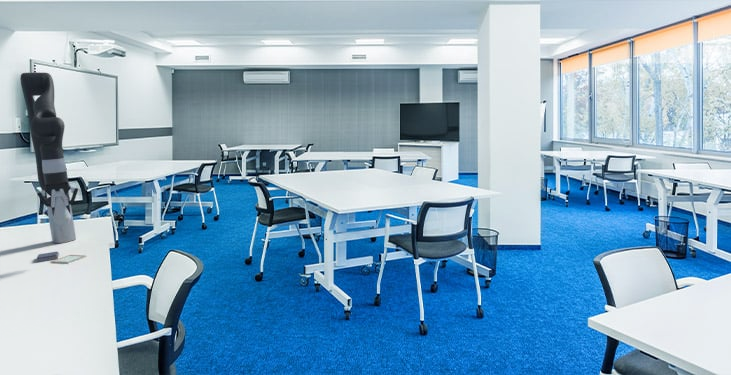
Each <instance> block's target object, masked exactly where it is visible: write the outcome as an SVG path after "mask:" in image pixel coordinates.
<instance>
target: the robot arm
mask: <svg viewBox="0 0 731 375" xmlns="http://www.w3.org/2000/svg"><path fill="white" fill-rule="evenodd" d="M20 86H21V89H22V94H23V97H24V98H23V99H24V101H25V103H24V104H25V106H26V110H27V111H26V112H27V117H28V124H29V132H30V136H31V143H32V146H33V151H34V156H35V157H34V158H35V162H36V172H37V173H36V174H37V182H38V185H39V187H40V188H41V191H38V192H37V195H36V196H38V198H39V199H40V200H41V202H42V203H43V204H44V206H45V207H46V209H47V217H48V222H49V230H50V235H51V241H52V243H53V244H63V243H69V242H73V241H75V240H76V239H77V237H76V229H75V224H74V222H75V221H74V217H73V211H72V210H73V209H72V204H74V203H75V200H76V197H77V194H78V191H79V188H78V187H73V186H71V184H70V183H69V179H68V178H69V177H68V173H67V172H68V171H67V165H66V161H65V157H64V151H63V150H64V149H63V139H64V138H63V137H64V133H65V127H66V126H65V122H64V120H63V119H62V118H61V117H58V116H57V112H56V108H55V84H54V79H53V77H52V75H51V74H50V73H48V72H23V73H22V72H21V74H20ZM34 96H35V97H36V96H37V98H36V99H35V98H34ZM38 96H39V97H38ZM56 191H60V192H61V193H63V194H64V195H63V196H62V198H63V200H64V203H65V205H66V207H67V208H68V209H67V210H68V211H69V213H70V215H71V220H70V223H68V224H65V225H57V224H56V223H55V221H54V211H55V208H54V207H55V198H56V197H54V196H53V195H54V194H55V192H56ZM70 191H71V194H72V196H70ZM46 194H47V195H48V197H47V198H46V197H45V196H46Z"/></svg>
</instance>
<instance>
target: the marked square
mask: <svg viewBox="0 0 731 375" xmlns="http://www.w3.org/2000/svg"><path fill="white" fill-rule="evenodd" d="M84 258H87V255H85V254H82V255H80V254H68V255H65V256H62V257H60V258H59V257H58V259H54V260H50V263H52V264H70V263H74V262H75V261H79V260H81V259H84Z"/></svg>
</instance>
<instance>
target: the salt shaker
mask: <svg viewBox="0 0 731 375" xmlns="http://www.w3.org/2000/svg"><path fill="white" fill-rule="evenodd" d="M63 195H64V194H63V193H61V192H60V191H56V192H55V194H54V195H53V196H54V197H56V198H55V207H54V208H55V211H54V221H55V223H56V224H57V225H65V224H68V223H70V220H71V215H70V213H69V211H68V210H67V209H68V208H67V207H66V205H65V203H64V200H63V198H62V196H63Z"/></svg>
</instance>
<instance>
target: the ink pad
mask: <svg viewBox="0 0 731 375" xmlns="http://www.w3.org/2000/svg"><path fill="white" fill-rule="evenodd" d="M59 257H60V253H59V251H52V252H51V251H50V252H46V253H39V254H38V255H37V257H36V258H35V262H36V263H41V262H47V261H53V260H56V259H59Z"/></svg>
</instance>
